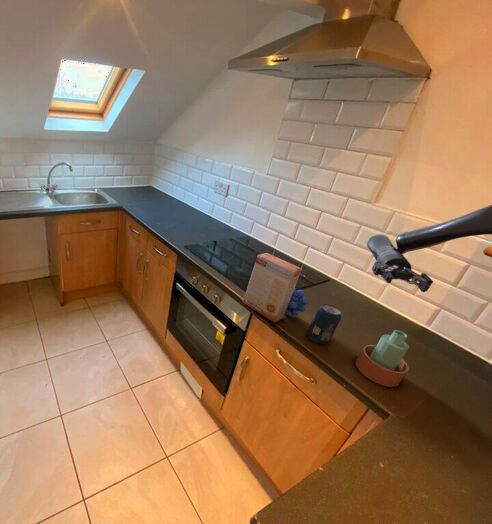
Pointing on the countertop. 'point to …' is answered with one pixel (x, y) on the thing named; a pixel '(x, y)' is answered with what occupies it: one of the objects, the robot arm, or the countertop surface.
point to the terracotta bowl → (380, 369)
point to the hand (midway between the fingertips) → (407, 284)
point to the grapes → (296, 303)
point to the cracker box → (271, 286)
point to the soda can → (324, 323)
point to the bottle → (390, 350)
